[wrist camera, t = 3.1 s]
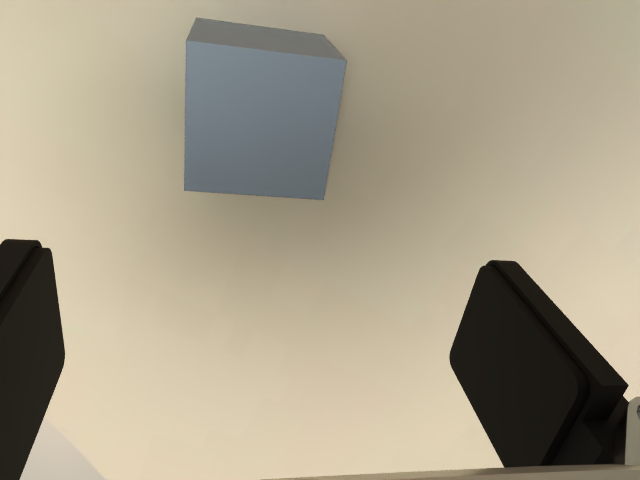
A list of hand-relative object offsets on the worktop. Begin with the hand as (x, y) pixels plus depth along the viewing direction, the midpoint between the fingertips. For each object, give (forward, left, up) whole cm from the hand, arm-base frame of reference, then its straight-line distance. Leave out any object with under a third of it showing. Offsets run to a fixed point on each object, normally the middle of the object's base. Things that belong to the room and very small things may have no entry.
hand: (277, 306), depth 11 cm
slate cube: (0, 0, -17) cm, 17 cm away
